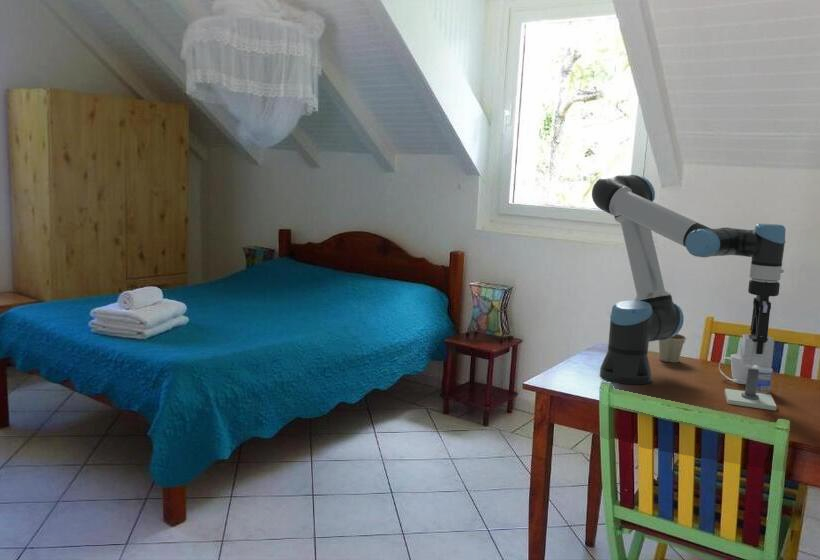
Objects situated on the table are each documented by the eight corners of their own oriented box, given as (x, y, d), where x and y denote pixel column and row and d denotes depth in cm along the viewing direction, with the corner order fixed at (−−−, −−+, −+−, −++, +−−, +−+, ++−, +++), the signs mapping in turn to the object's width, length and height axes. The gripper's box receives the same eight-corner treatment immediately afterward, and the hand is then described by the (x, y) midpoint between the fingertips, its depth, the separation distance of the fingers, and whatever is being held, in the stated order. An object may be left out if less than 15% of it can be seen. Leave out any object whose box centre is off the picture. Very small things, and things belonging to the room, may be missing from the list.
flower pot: (688, 360, 232) (690, 336, 230) (678, 365, 225) (680, 340, 223) (660, 355, 238) (663, 331, 236) (650, 359, 231) (652, 335, 229)
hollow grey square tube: (743, 363, 187) (745, 339, 186) (740, 357, 193) (743, 334, 192) (771, 366, 184) (774, 341, 183) (767, 360, 191) (770, 336, 190)
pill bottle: (750, 387, 204) (754, 356, 203) (770, 391, 201) (775, 359, 200) (748, 391, 200) (752, 359, 198) (768, 395, 197) (772, 363, 195)
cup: (751, 387, 204) (755, 361, 203) (715, 380, 209) (718, 355, 208) (753, 381, 210) (756, 356, 209) (718, 375, 215) (721, 350, 214)
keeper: (727, 403, 188) (731, 371, 186) (724, 392, 198) (728, 362, 196) (776, 410, 184) (780, 378, 182) (770, 398, 194) (774, 367, 192)
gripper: (786, 286, 175) (775, 372, 178) (774, 277, 193) (765, 355, 197) (753, 283, 177) (744, 368, 181) (745, 274, 196) (737, 351, 199)
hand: (755, 361), depth 189 cm, fingers closed on hollow grey square tube, 7 cm apart
